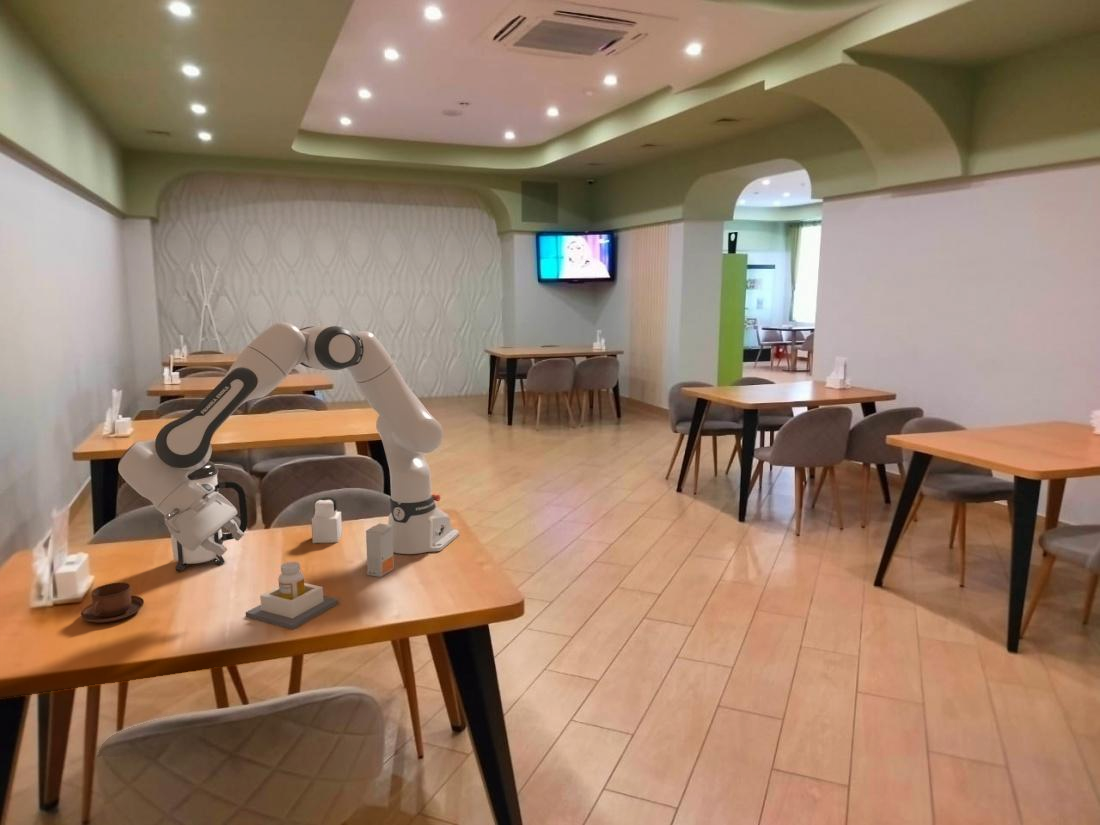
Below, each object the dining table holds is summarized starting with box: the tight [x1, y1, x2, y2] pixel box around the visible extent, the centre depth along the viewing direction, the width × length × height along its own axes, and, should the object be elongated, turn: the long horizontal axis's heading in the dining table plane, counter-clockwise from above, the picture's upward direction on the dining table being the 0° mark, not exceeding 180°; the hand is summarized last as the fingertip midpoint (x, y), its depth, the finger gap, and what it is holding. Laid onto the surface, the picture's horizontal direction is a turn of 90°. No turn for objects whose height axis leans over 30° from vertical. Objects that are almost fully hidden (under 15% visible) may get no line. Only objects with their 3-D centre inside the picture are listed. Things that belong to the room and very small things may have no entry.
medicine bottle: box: [310, 496, 343, 544], centre depth 206 cm, size 7×7×12 cm
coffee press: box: [170, 460, 248, 573], centre depth 188 cm, size 17×16×30 cm
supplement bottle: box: [277, 561, 305, 600], centre depth 160 cm, size 5×5×10 cm
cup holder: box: [245, 582, 339, 630], centre depth 161 cm, size 14×14×4 cm
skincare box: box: [365, 523, 395, 578], centre depth 181 cm, size 6×4×12 cm
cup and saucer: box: [80, 582, 145, 624], centre depth 159 cm, size 12×12×6 cm
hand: (232, 545), depth 158 cm, fingers open, 8 cm apart
